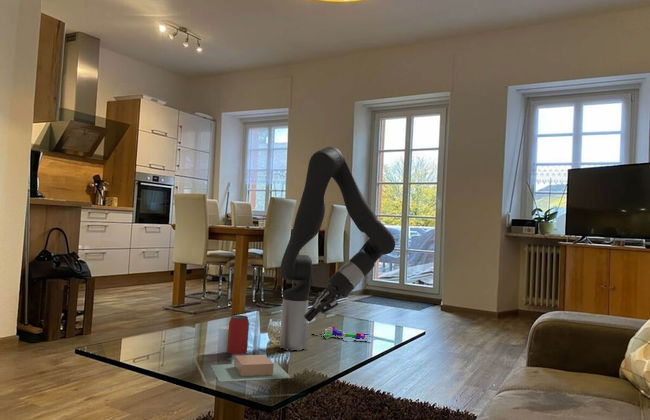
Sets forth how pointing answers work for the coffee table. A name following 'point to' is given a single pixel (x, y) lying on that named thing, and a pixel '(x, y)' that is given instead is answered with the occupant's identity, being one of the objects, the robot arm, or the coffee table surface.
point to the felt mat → (231, 374)
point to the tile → (253, 365)
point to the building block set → (342, 333)
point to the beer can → (238, 335)
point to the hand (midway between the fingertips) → (306, 319)
